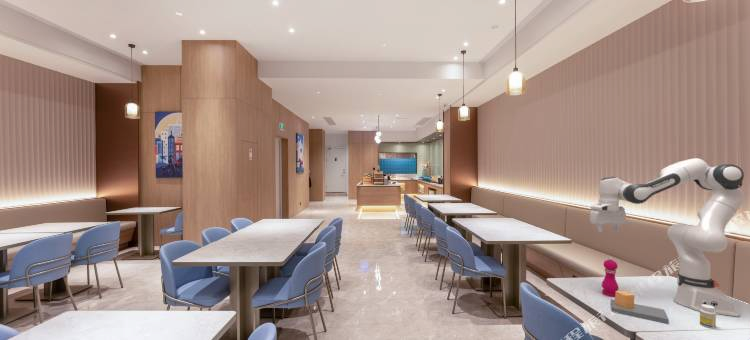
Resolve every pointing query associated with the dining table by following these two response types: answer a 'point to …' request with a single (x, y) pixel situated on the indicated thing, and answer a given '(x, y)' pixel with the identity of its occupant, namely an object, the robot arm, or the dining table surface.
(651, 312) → the plate
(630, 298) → the tangerine wooden cube
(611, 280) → the pepper mill
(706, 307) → the supplement bottle
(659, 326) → the dining table surface
